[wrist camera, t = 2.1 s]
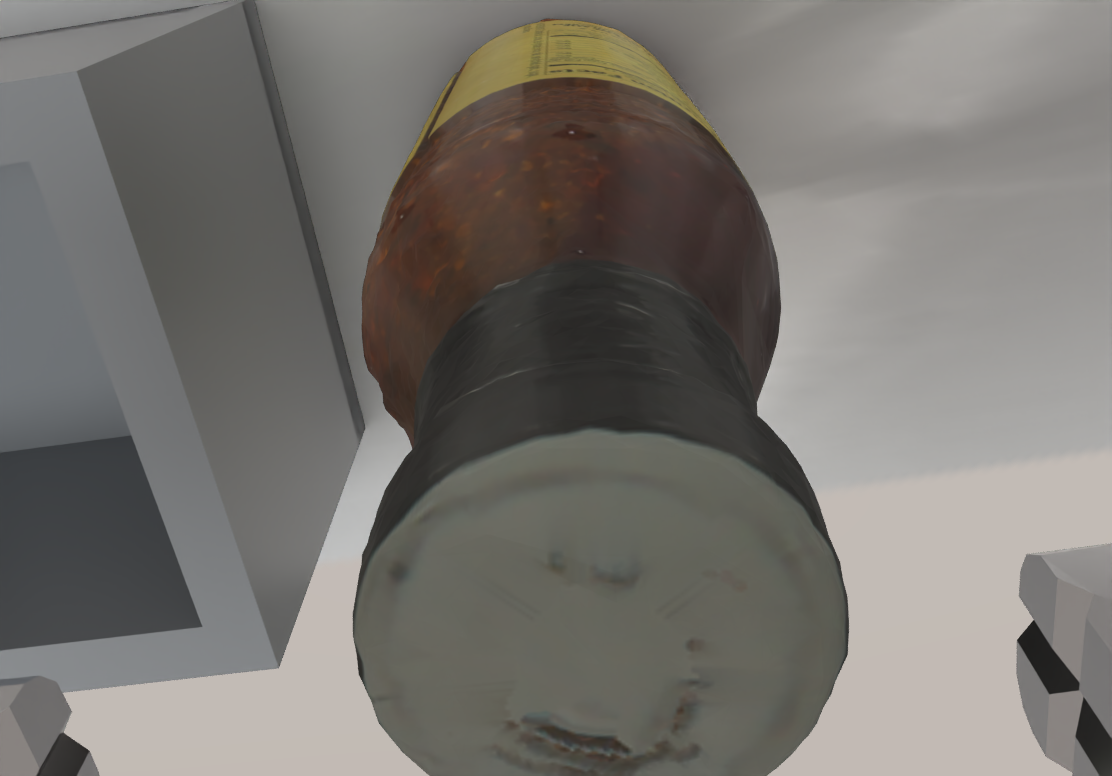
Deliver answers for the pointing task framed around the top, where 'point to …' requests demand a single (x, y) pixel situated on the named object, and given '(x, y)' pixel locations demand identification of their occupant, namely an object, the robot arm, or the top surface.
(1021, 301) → the top surface
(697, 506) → the sauce bottle
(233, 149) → the bin
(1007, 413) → the top surface
